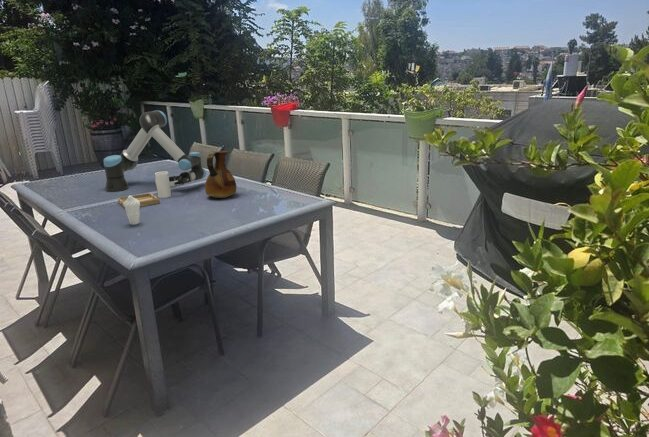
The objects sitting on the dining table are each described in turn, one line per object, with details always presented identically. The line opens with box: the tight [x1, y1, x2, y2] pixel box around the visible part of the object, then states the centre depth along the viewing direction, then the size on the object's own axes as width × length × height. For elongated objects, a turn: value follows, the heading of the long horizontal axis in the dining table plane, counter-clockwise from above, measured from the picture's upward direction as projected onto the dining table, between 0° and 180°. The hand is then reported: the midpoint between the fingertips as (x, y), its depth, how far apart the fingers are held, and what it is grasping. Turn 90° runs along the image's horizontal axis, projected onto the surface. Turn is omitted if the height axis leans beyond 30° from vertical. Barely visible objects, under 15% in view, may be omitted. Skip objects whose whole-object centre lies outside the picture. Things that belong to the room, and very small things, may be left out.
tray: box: [117, 192, 161, 209], centre depth 286 cm, size 20×20×3 cm
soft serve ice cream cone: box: [123, 194, 141, 226], centre depth 244 cm, size 8×8×16 cm
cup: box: [154, 171, 172, 199], centre depth 298 cm, size 8×8×16 cm
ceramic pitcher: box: [204, 150, 237, 199], centre depth 292 cm, size 20×20×30 cm
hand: (162, 183), depth 297 cm, fingers open, 13 cm apart
